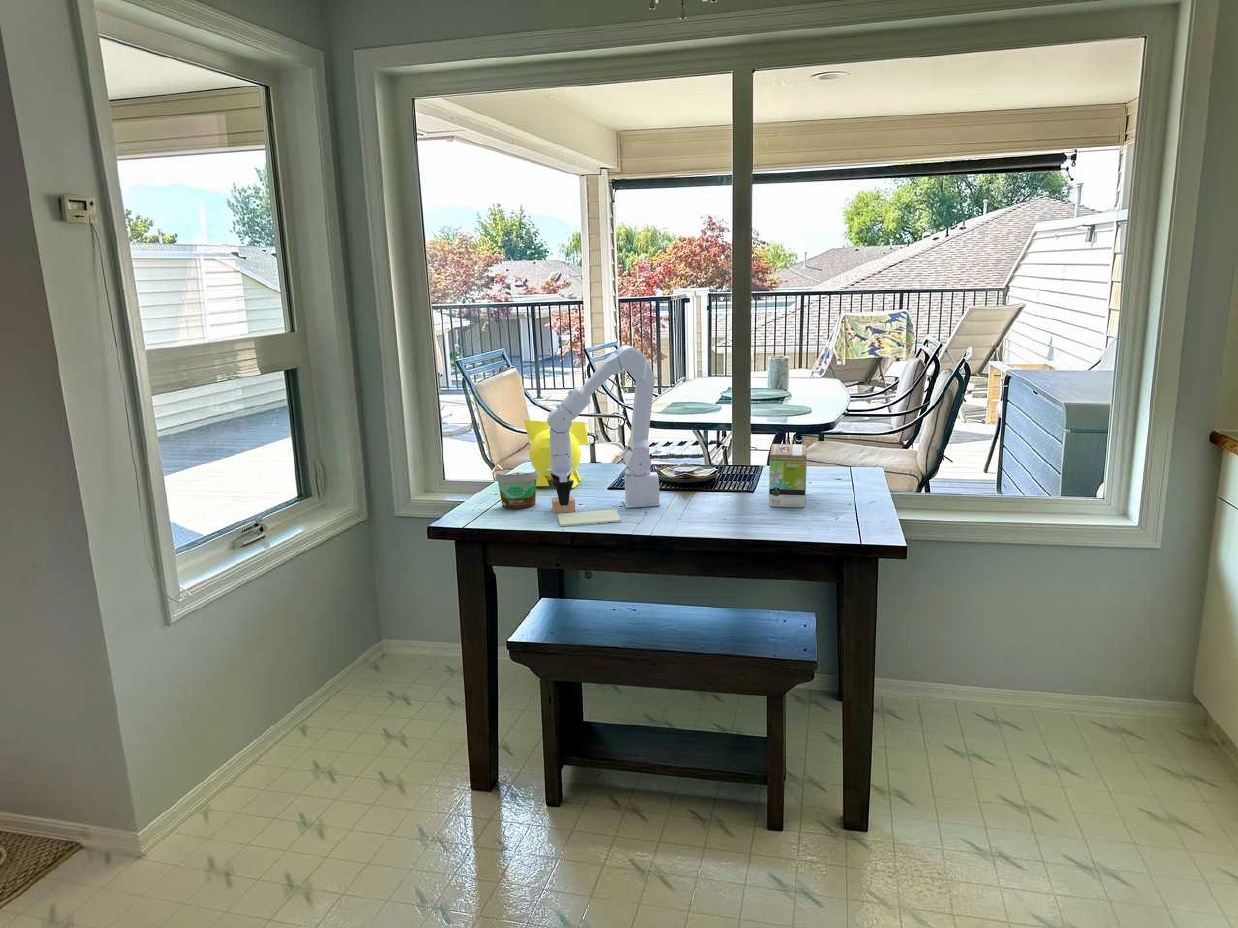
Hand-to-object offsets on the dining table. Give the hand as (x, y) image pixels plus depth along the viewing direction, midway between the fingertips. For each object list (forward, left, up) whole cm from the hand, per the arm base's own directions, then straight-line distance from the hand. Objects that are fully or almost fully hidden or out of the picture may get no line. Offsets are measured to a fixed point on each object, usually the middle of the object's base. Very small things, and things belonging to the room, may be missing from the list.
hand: (563, 501), depth 241 cm
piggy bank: (0, -32, -3) cm, 32 cm away
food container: (+12, -6, -3) cm, 14 cm away
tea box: (-62, +6, -3) cm, 62 cm away
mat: (-6, +10, -3) cm, 12 cm away
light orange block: (0, 0, -3) cm, 3 cm away
